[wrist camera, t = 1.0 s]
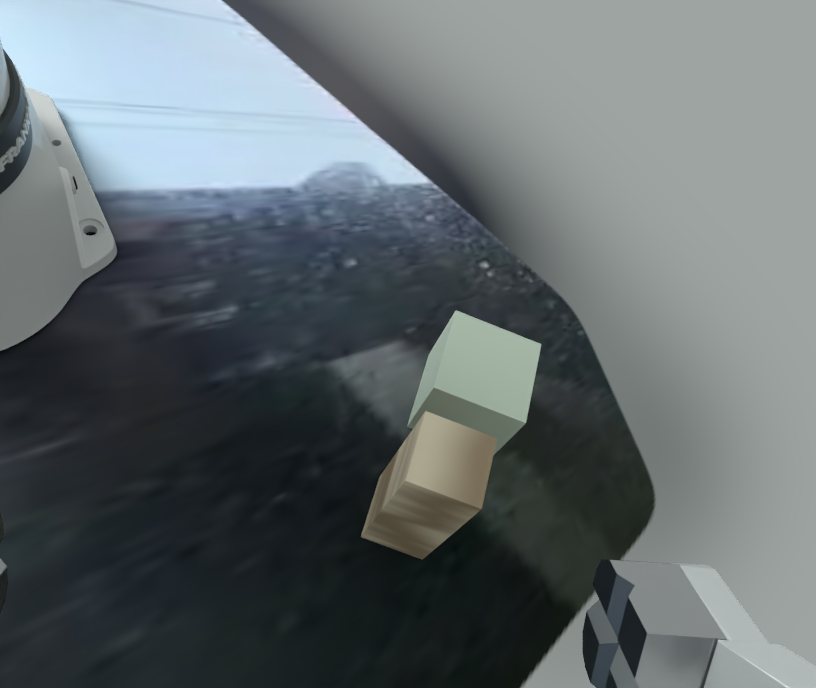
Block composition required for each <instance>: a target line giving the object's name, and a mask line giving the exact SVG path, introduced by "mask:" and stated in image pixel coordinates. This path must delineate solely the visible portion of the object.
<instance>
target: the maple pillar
mask: <svg viewBox="0 0 816 688" xmlns="http://www.w3.org/2000/svg"><path fill="white" fill-rule="evenodd" d="M496 441H497V438H495V437H492V436H490V435H487V434H485V433H482V432H479V431H477V430H474V429H472V428H469V427H466V426H464V425H461V424H459V423H456V422H453V421H451V420H448V419H446V418H443V417H440V416H438V415H435V414H433V413H430V412H427V411H425V413H424V414H423V415H422V417H421V418H420V420H419V421H418V423H417V424H416V425H415V427H414V428H413V430H412V431H411V433H410V434H409V435H408V437H407V438H406V440H405V441H404V443H403V444H402V446H401V447H400V448H399V450H398V451H397V453H396V454H395V456H394V457H393V458H392V460H391V461H390V463H389V464H388V466H387V467H386V469H385V470H384V471H383V473H382V474H381V476H380V477H379V480H378V483H377V486H376V490H375V493H374V496H373V499H372V502H371V506H370V509H369V512H368V515H367V518H366V522H365V525H364V528H363V531H362V534H361V537H362V538H365V539H367V540H370V541H373V542H376V543H378V544H381V545H384V546H387V547H389V548H392V549H395V550H398V551H400V552H403V553H406V554H409V555H411V556H414V557H417V558H419V559H422V560H423V559H424V558H425V557H426V556H427V555H429V554H430V553H431V552H432V551H433V550H434V549H436V548H437V547H438V546H439V545H440V544H441V543H443V542H444V541H445V540H446V539H447V538H448V537H450V536H451V535H452V534H453V533H454V532H456V531H457V530H458V529H459V528H460V527H461V526H463V525H464V524H465V523H466V522H467V521H468V520H470V519H471V518H472V517H473V516H474V515H475V514H477V513H478V512H479V511H480V510H481V509H482V505H483V501H484V496H485V492H486V487H487V482H488V478H489V473H490V469H491V464H492V459H493V455H494V450H495V446H496Z"/></svg>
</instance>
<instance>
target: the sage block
mask: <svg viewBox="0 0 816 688" xmlns="http://www.w3.org/2000/svg"><path fill="white" fill-rule="evenodd" d="M540 348H541V344H539V343H537V342H534V341H532V340H529V339H527V338H524V337H522V336H519V335H517V334H514V333H512V332H509V331H507V330H504V329H502V328H499V327H496V326H494V325H491V324H489V323H486V322H484V321H481V320H479V319H476V318H474V317H471V316H469V315H466V314H464V313H461V312H459V311H455V313H454V314H453V316H452V318H451V319H450V321H449V322H448V324H447V326H446V327H445V329H444V331H443V332H442V334H441V336H440V337H439V339H438V341H437V342H436V344H435V345H434V347H433V349H432V350H431V352H430V354H429V356H428V359H427V362H426V366H425V369H424V372H423V376H422V379H421V382H420V386H419V389H418V392H417V395H416V399H415V402H414V405H413V409H412V412H411V415H410V419H409V422H408V425H407V427H408V428H411V429H413V428H414V427H415V425H416V424H417V423H418V421H419V420H420V418H421V417H422V415H423V414H424V413H425V411H427V412H430V413H433V414H435V415H438V416H440V417H443V418H446V419H448V420H451V421H453V422H456V423H459V424H461V425H464V426H466V427H469V428H472V429H474V430H477V431H479V432H482V433H485V434H487V435H490V436H492V437H495V438H497V441H496V446H495V450H494V454H495V453H496V452H497V451H498V450H499V449H500V448H501V447H502V446H503V445H504V444H505V443H506V442H507V441H508V440H509V439H510V438H511V437H512V436H514V435H515V434H516V433H517V432H518V431H519V430H520V429H521V428H522V427H523V426H524V425H525V424H526V420H527V415H528V410H529V405H530V400H531V395H532V389H533V384H534V379H535V374H536V369H537V364H538V359H539V353H540Z"/></svg>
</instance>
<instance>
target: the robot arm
mask: <svg viewBox="0 0 816 688" xmlns="http://www.w3.org/2000/svg"><path fill="white" fill-rule="evenodd" d="M88 232H94V233H96V234H95V235H91V236H89V235H86V233H88ZM116 254H117V247H116V243H115V240H114V237H113V235H112V233H111V230H110V228H109V226H108V224H107V221H106V219H105V217H104V215H103V212H102V210H101V208H100V205H99V203H98V201H97V199H96V196H95V194H94V192H93V190H92V187H91V185H90V183H89V181H88V178H87V176H86V174H85V171H84V169H83V167H82V165H81V162H80V160H79V158H78V156H77V153H76V151H75V149H74V147H73V144H72V142H71V140H70V138H69V135H68V133H67V131H66V128H65V126H64V124H63V122H62V119H61V117H60V115H59V113H58V110H57V108H56V106H55V104H54V102H53V100H52V99H51V98H50V97H49V96H47V95H45V94H43V93H41V92H38V91H35V90H33V89H30V88H26V87H25V86H24V84H23V81H22V79H21V77H20V75H19V73H18V71H17V68H16V66H15V65H14V64H13V62H12V60H11V59H10V58H9V56H8V55H7V53H6V52H5V51H4V49H3V47H2V43H1V39H0V351H2V350H4V349H7V348H9V347H11V346H13V345H15V344H18V343H19V342H21V341H23V340H25V339H27V338H28V337H30V336H32V335H33V334H35V333H36V332H38V331H39V330H40V329H42V328H43V327H44V326H45V325H47V324H48V323H49V322H50V321H51V320H52V319H53V318H54V317H55V316H56V315H57V314H58V313H59V312H60V311H61V310H62V308H63V307H64V306H65V304H66V303H67V302H68V300H69V299H70V297H71V296H72V294H73V293H74V291H75V290H76V289H77V287H78V286H79V285H80V284H81V283H82V282H83V281H84V280H85V279H87V278H89V277H90V276H92V275H93V274H95V273H97V272H98V271H100V270H101V269H103V268H104V267H106V266H107V265H108V264H109V263H111V262H112V261H113V260H114V258H115V257H116ZM4 538H5V533H4V524H3V516H2V515H1V514H0V543H1V542H2V541H3V539H4ZM7 585H8V577H7V566H6V565H5V564H4V563H3V561H2V560H1V559H0V613H1V611H2V608H3V606H4V603H5V599H6V592H7ZM593 586H594V588H595V590H596V593H597V595H598V597H599V601H598V602H596V603H595V604H594V605H593V606H592V607H591V608H590V609H589V610H588V611H587V613H586V618H585V623H584V629H583V657H584V662H585V668H586V671H587V674H588V677H589V680H590V682H591V683H592V684H593V685H594V686H595V687H596V688H816V666H814V665H813V664H811V663H810V662H808V661H806V660H805V659H803V658H802V657H800V656H798V655H797V654H795V653H793V652H792V651H790V650H789V649H787V648H785V647H784V646H782V645H779V644H769V642H768V641H767V640H766V639H765V637H764V636H763V634H762V633H761V631H760V630H759V629H758V627H757V626H756V625H755V623H754V622H753V621H752V619H751V618H750V616H749V615H748V614H747V612H746V611H745V610H744V608H743V607H742V606H741V604H740V603H739V601H738V600H737V599H736V597H735V596H734V595H733V593H732V592H731V591H730V589H729V588H728V586H727V585H726V584H725V582H724V581H723V580H722V578H721V577H720V575H719V574H718V573H717V571H716V570H715V569H714V568H712V567H710V566H708V565H705V564H683V563H654V562H639V561H623V560H606V559H602V560H601V562H600V564H599V566H598V567H597V570H596V574H595V578H594V582H593Z"/></svg>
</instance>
